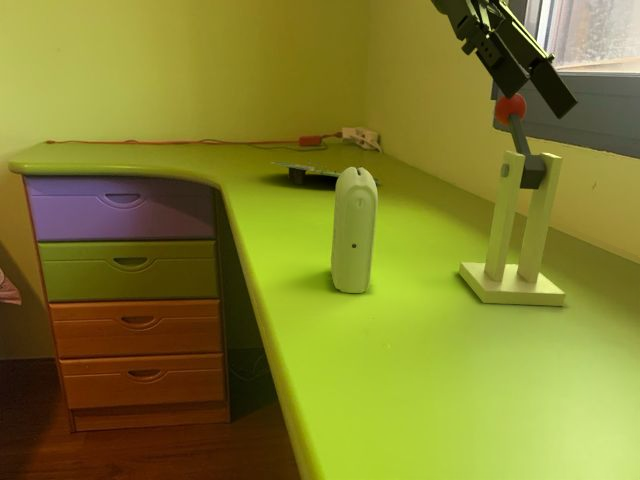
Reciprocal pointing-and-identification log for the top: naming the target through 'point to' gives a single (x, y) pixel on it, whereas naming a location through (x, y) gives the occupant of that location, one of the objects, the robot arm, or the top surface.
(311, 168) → the city model
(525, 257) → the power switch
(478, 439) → the top surface
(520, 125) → the switch lever
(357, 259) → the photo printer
